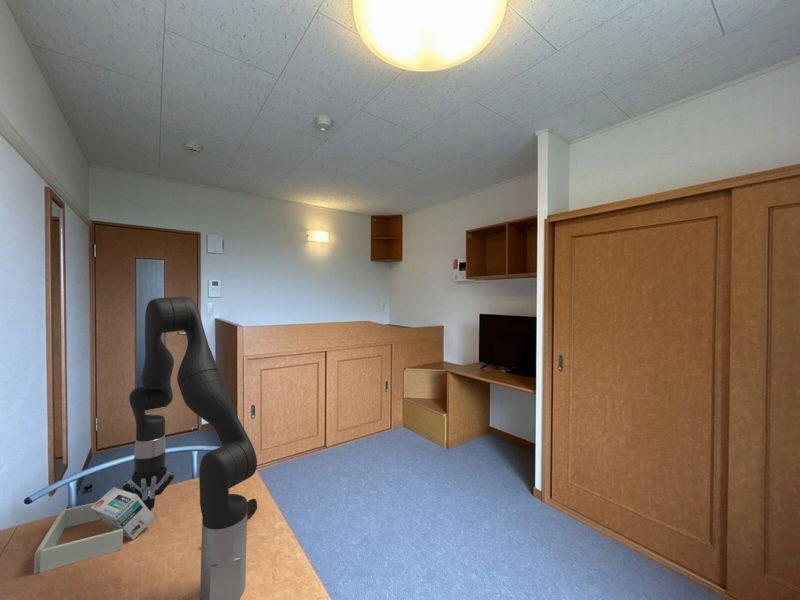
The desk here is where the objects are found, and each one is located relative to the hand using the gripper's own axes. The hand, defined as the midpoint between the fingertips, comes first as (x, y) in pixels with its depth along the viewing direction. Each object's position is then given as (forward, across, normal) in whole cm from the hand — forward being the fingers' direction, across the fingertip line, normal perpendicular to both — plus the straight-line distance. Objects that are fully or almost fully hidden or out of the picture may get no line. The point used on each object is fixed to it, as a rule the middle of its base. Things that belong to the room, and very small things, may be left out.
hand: (148, 509), depth 101 cm
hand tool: (+4, +22, -15) cm, 27 cm away
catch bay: (+4, -13, 0) cm, 13 cm away
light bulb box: (+2, -3, -2) cm, 4 cm away
